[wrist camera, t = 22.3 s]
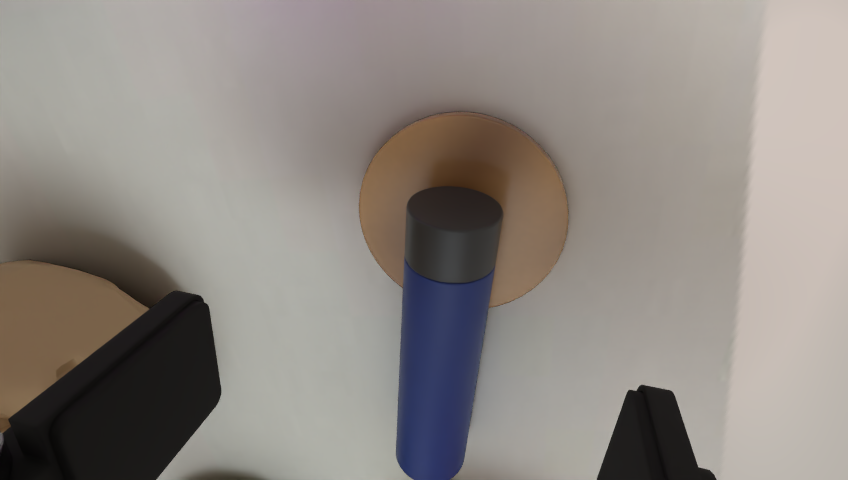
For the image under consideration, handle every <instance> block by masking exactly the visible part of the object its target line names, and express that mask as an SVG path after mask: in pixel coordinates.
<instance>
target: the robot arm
mask: <svg viewBox="0 0 848 480" xmlns="http://www.w3.org/2000/svg"><path fill="white" fill-rule="evenodd" d="M220 396H221V385H220V378H219V372H218V365H217V358H216V351H215V345H214V338H213V331H212V324H211V318H210V311H209V307H208V305H207V304H206V303H204V300H203V298H202V297H201V296H199V295H196V294H191V293H186V292H181V291H173V292H171V293H170V294H168V295H167V296H166V297H164V298H163V299H162V300H160V301H159V302H158V303H157V304H155V305H154V306H153V307H151V308H150V309H149V310H148V311H146V312H145V313H144V314H142V315H141V316H140V317H139V318H137V319H136V320H135V321H133V322H132V323H131V324H130V325H128V326H127V327H126V328H124V329H123V330H122V331H121V332H119V333H118V334H117V335H115V336H114V337H113V338H112V339H110V340H109V341H108V342H106V343H105V344H104V345H103V346H101V347H100V348H99V349H97V350H96V351H95V352H94V353H92V354H91V355H90V356H88V357H87V358H86V359H85V360H83V361H82V362H81V363H79V364H78V365H77V366H76V367H74V368H73V369H72V370H70V371H69V372H68V373H67V374H65V375H64V376H63V377H61V378H60V379H59V380H58V381H56V382H55V383H54V384H52V385H51V386H50V387H49V388H47V389H46V390H45V391H43V392H42V393H41V394H40V395H38V396H37V397H36V398H34V399H33V400H32V401H31V402H29V403H28V404H27V405H25V406H24V407H23V408H22V409H20V410H19V411H18V412H16V413H15V414H14V415H13V416H11V417H10V418H9V419H8V420H9V423H10V425H11V427H10V428H8V429H7V430H6V431H4V432H3V433H1V432H0V480H156V479H157V478H158V477H159V476H160V474H161V473H162V472H163V471H164V469H165V468H166V467H167V466H168V464H169V463H170V462H171V461H172V460H173V458H174V457H175V456H176V455H177V453H178V452H179V451H180V450H181V448H182V447H183V446H184V445H185V444H186V442H187V441H188V440H189V439H190V437H191V436H192V435H193V434H194V433H195V431H196V430H197V429H198V428H199V426H200V425H201V424H202V423H203V421H204V420H205V419H206V418H207V417H208V415H209V414H210V413H211V412H212V410H213V409H214V408H215V407H216V405H217V404H218V402H219V399H220ZM597 480H716V478H715V476H714V474H713V473H712V472H711V471H710V470H707V469H703V468H698V465H697V462H696V459H695V456H694V453H693V450H692V447H691V444H690V441H689V438H688V435H687V432H686V429H685V426H684V423H683V420H682V417H681V414H680V410H679V407H678V404H677V401H676V398H675V396H674V394H673V392H672V391H670V390H665V389H660V388H655V387H650V386H645V385H640V386H639V387H638V389H637V391H633V390H629V391H628V392H627V394H626V397H625V400H624V403H623V406H622V409H621V411H620V414H619V417H618V420H617V423H616V426H615V429H614V431H613V434H612V437H611V440H610V443H609V446H608V449H607V451H606V454H605V457H604V460H603V463H602V466H601V469H600V472H599V474H598V477H597Z"/></svg>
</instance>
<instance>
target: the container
mask: <svg viewBox="0 0 848 480" xmlns="http://www.w3.org/2000/svg"><path fill="white" fill-rule="evenodd" d="M148 310H149V308H148V307H146V306H144V305H142V304H141V303H139V302H138V301H136V300H134V299H133V298H132V297H130V296H129V295H128V294H126V293H125V292H123V291H122V290H120V289H118V287H117V286H116V285H115V284H113V283H112V282H110V281H108V280H106V279H104V278H101V277H98V276H94V275H92V274H89V273H86V272H83V271H79V270H76V269H71V268H67V267H64V266H58V265H54V264H51V263H45V262H39V261H33V260H22V261H12V262H5V263H0V432H1V433H3V432H4V431H6V430H7V429H8V428H10V427H11V425H10V423H9V420H8V419H9V418H10V417H11V416H13V415H14V414H15V413H16V412H18V411H19V410H20V409H22V408H23V407H24V406H25V405H27V404H28V403H29V402H31V401H32V400H33V399H34V398H36V397H37V396H38V395H40V394H41V393H42V392H43V391H45V390H46V389H47V388H49V387H50V386H51V385H52V384H54V383H55V382H56V381H58V380H59V379H60V378H61V377H63V376H64V375H65V374H67V373H68V372H69V371H70V370H72V369H73V368H74V367H76V366H77V365H78V364H79V363H81V362H82V361H83V360H85V359H86V358H87V357H88V356H90V355H91V354H92V353H94V352H95V351H96V350H97V349H99V348H100V347H101V346H103V345H104V344H105V343H106V342H108V341H109V340H110V339H112V338H113V337H114V336H115V335H117V334H118V333H119V332H121V331H122V330H123V329H124V328H126V327H127V326H128V325H130V324H131V323H132V322H133V321H135V320H136V319H137V318H139V317H140V316H141V315H142V314H144V313H145V312H146V311H148Z"/></svg>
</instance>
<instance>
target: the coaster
mask: <svg viewBox="0 0 848 480" xmlns="http://www.w3.org/2000/svg"><path fill="white" fill-rule="evenodd" d="M440 186H455V187H464V188H469V189H473V190H477V191H480V192H482V193H485V194H487V195H489V196H491V197H492V198H494V199H495V200H496V201H497V202H498V203H499V204H500V205H501V207H502V209H503V221H502V227H501V234H500V240H499V246H498V252H497V258H496V264H495V271H494V277H493V283H492V289H491V296H490V302H489V308H490V307H495V306H499V305H502V304H505V303H508V302H511V301H513V300H515V299H517V298H519V297H521V296H523V295H524V294H526V293H527V292H529V291H530V290H532V289H533V288H534V287H535V286H537V285H538V284H539V283H540V282H541V281H542V280H543V279H544V278H545V277H546V276H547V275H548V273H549V272H550V271H551V270H552V268H553V267H554V265H555V264H556V262H557V260H558V258H559V256H560V254H561V252H562V250H563V247H564V243H565V240H566V236H567V230H568V205H567V198H566V192H565V189H564V185H563V182H562V179H561V177H560V175H559V173H558V170H557V168H556V167H555V165H554V163H553V162H552V160H551V159H550V157H549V156H548V154H547V153H546V152H545V151H544V150H543V149H542V148H541V146H540V145H539V144H538V143H537V142H535V141H534V140H533V139H532V138H531V137H530V136H529V135H527V134H526V133H524V132H523V131H521V130H520V129H518V128H517V127H515V126H513V125H511V124H509V123H507V122H505V121H503V120H500V119H497V118H494V117H491V116H488V115H483V114H478V113H472V112H449V113H441V114H437V115H432V116H429V117H426V118H423V119H420V120H418V121H416V122H414V123H412V124H410V125H408V126H406V127H405V128H403V129H402V130H400V131H399V132H398V133H396V134H395V135H394V136H393V137H392V138H390V139H389V140H388V141H387V142H386V143H385V144H384V145H383V146H382V147H381V149H380V150H379V151H378V152H377V154H376V155H375V156H374V158H373V159H372V161H371V163H370V165H369V167H368V168H367V171H366V173H365V176H364V179H363V182H362V186H361V191H360V199H359V214H360V222H361V227H362V231H363V234H364V237H365V240H366V243H367V245H368V247H369V249H370V251H371V253H372V255H373V256H374V258H375V260H376V261H377V263H378V264H379V265H380V266H381V268H382V269H383V270H384V271H385V273H386V274H387V275H388V276H389V277H390V278H391V279H392V280H393V281H395V282H396V283H397V284H398V285H400V286H401V287H402V288H403V277H404V256H405V254H404V253H405V230H406V207H407V202H408V200H409V199H410V197H411V196H412V195H414V194H415V193H417V192H419V191H421V190H424V189H428V188H432V187H440Z"/></svg>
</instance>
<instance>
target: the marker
mask: <svg viewBox="0 0 848 480" xmlns="http://www.w3.org/2000/svg"><path fill="white" fill-rule="evenodd" d="M502 221H503V209H502V207H501V205H500V204H499V203H498V202H497V201H496V200H495V199H494V198H492V197H491V196H489V195H487V194H485V193H482V192H480V191H477V190H473V189H469V188H464V187H455V186H440V187H432V188H428V189H424V190H421V191H419V192H417V193H415V194H414V195H412V196H411V197H410V199H409V200H408V202H407V207H406V230H405V253H404V254H405V256H404V277H403V300H402V323H401V347H400V370H399V393H398V417H397V440H396V457H397V461H398V463H399V465H400V467H401V468H402V470H403V471H404V472H405V473H406V474H407V475H408V476H409V477H411V478H412V479H414V480H449V479H451V478H452V477H454V476H455V475H456V474H457V473H458V472H459V470H460V469H461V467H462V465H463V462H464V457H465V450H466V444H467V438H468V432H469V426H470V419H471V413H472V407H473V401H474V395H475V388H476V382H477V376H478V370H479V364H480V358H481V351H482V345H483V339H484V333H485V327H486V320H487V314H488V308H489V302H490V296H491V289H492V283H493V277H494V271H495V264H496V258H497V252H498V246H499V240H500V234H501V227H502Z"/></svg>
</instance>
